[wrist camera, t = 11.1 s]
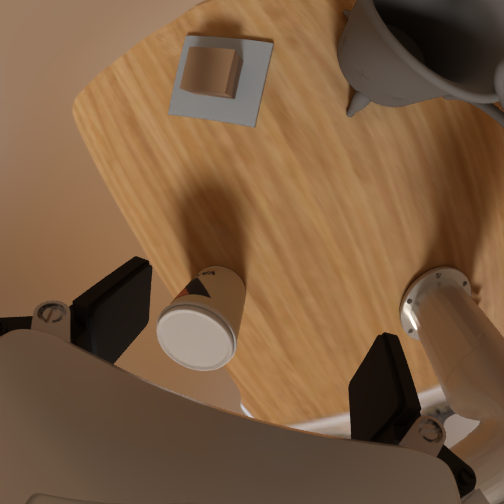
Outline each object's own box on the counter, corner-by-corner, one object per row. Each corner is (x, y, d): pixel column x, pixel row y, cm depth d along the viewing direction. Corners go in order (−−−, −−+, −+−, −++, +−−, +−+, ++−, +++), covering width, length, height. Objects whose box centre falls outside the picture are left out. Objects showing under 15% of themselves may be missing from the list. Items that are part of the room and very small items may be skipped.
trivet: (273, 45, 28) (273, 43, 27) (255, 127, 32) (254, 127, 32) (188, 37, 29) (186, 35, 28) (170, 114, 33) (168, 114, 32)
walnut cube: (243, 61, 29) (234, 49, 24) (234, 99, 31) (224, 93, 26) (203, 57, 29) (189, 46, 24) (195, 94, 31) (179, 88, 26)
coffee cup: (219, 246, 39) (189, 290, 28) (265, 296, 40) (253, 352, 29) (176, 284, 42) (139, 331, 31) (219, 327, 44) (196, 382, 33)
